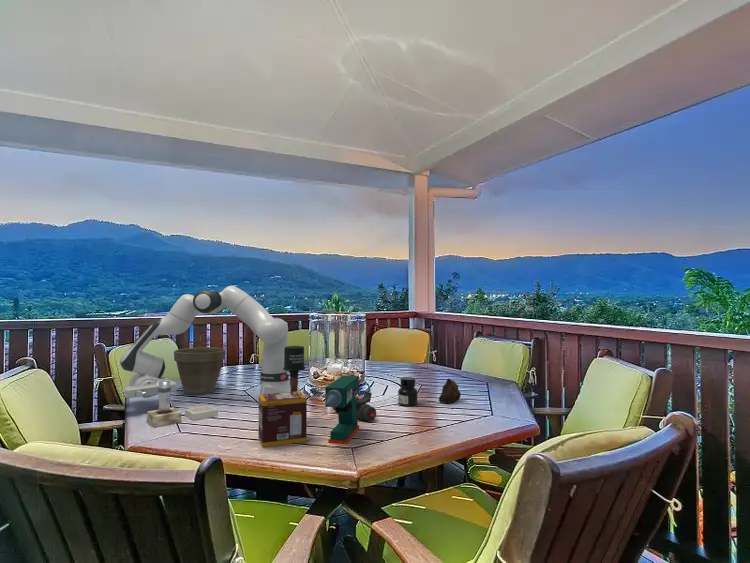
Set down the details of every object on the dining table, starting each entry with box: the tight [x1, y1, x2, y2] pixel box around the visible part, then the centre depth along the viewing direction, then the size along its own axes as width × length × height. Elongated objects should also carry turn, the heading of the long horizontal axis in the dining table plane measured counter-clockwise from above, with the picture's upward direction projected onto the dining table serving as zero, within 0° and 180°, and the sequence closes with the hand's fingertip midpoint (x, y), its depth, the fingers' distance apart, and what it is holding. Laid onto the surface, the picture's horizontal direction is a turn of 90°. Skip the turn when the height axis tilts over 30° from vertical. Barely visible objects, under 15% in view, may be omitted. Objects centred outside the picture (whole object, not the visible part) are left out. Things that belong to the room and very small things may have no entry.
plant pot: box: [173, 346, 227, 395], centre depth 228 cm, size 25×25×22 cm
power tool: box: [324, 374, 360, 445], centre depth 154 cm, size 32×7×20 cm, turn 168°
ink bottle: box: [397, 376, 418, 407], centre depth 204 cm, size 10×9×12 cm
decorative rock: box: [438, 378, 462, 404], centre depth 209 cm, size 12×6×11 cm, turn 130°
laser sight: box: [332, 391, 377, 423], centre depth 185 cm, size 10×22×10 cm, turn 44°
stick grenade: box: [283, 345, 306, 392], centre depth 176 cm, size 8×9×30 cm
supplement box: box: [257, 390, 308, 448], centre depth 155 cm, size 10×15×16 cm
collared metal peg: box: [158, 381, 171, 415], centre depth 176 cm, size 4×4×16 cm
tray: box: [184, 404, 219, 421], centre depth 185 cm, size 10×10×3 cm
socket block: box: [146, 406, 182, 428], centre depth 176 cm, size 10×10×4 cm
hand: (156, 392), depth 185 cm, fingers open, 8 cm apart
